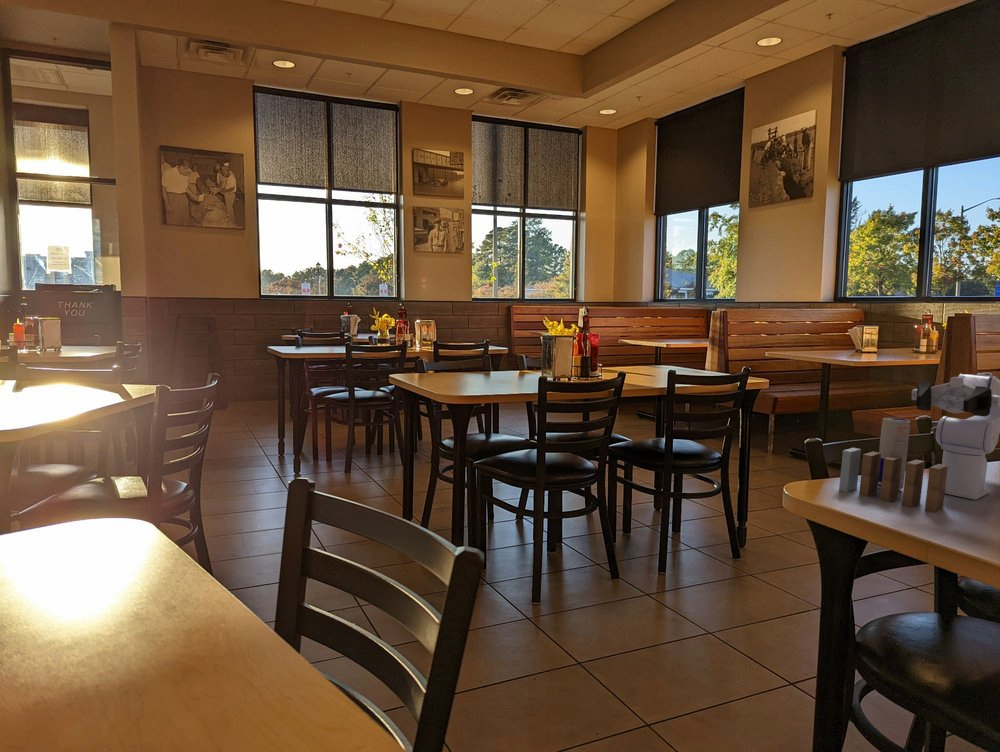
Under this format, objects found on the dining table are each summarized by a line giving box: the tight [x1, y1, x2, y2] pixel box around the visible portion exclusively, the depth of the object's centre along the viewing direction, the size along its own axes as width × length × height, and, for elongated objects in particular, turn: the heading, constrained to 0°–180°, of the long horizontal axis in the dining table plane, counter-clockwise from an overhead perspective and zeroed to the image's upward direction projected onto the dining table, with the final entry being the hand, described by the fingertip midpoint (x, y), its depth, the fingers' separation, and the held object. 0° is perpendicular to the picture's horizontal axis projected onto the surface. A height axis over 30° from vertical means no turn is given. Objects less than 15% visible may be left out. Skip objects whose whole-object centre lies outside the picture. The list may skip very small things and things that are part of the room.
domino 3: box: [879, 456, 902, 503], centre depth 137 cm, size 5×2×8 cm, turn 130°
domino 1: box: [838, 447, 862, 493], centre depth 143 cm, size 5×2×8 cm, turn 130°
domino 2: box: [858, 451, 881, 497], centre depth 140 cm, size 5×2×8 cm, turn 130°
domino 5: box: [924, 463, 948, 513], centre depth 131 cm, size 5×2×8 cm, turn 130°
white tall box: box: [878, 417, 911, 491], centre depth 144 cm, size 5×5×15 cm
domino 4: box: [901, 459, 926, 508], centre depth 134 cm, size 5×2×8 cm, turn 130°
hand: (941, 403), depth 129 cm, fingers open, 7 cm apart
